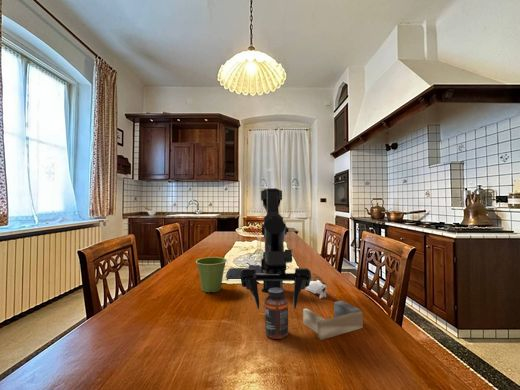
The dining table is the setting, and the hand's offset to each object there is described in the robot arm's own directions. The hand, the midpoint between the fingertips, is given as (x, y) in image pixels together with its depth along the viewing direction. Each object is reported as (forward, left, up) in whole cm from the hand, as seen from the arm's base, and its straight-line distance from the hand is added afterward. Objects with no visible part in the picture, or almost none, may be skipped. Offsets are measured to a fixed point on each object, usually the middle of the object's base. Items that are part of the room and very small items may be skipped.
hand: (276, 308), depth 68 cm
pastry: (-6, +48, -7) cm, 48 cm away
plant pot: (-37, +21, -7) cm, 43 cm away
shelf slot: (+10, +12, -7) cm, 17 cm away
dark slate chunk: (-33, +44, -8) cm, 55 cm away
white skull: (0, +35, -7) cm, 35 cm away
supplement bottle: (-1, +1, -7) cm, 7 cm away
